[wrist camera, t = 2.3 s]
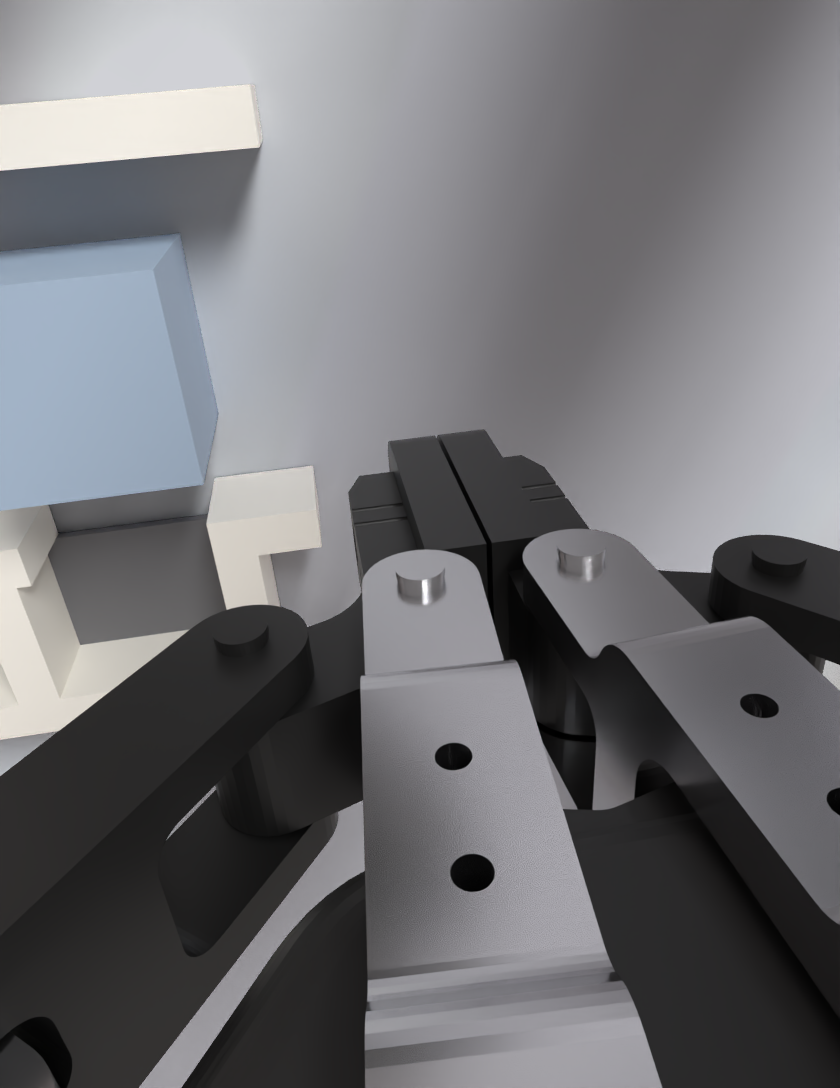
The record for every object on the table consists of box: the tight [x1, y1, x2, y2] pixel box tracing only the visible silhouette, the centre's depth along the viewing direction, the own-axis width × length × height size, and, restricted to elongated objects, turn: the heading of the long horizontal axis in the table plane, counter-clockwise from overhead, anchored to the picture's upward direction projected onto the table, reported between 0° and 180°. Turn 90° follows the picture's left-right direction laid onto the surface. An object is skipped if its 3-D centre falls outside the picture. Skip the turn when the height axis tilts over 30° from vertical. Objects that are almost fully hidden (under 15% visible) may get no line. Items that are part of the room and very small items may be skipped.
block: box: [0, 233, 218, 511], centre depth 20 cm, size 5×5×5 cm
